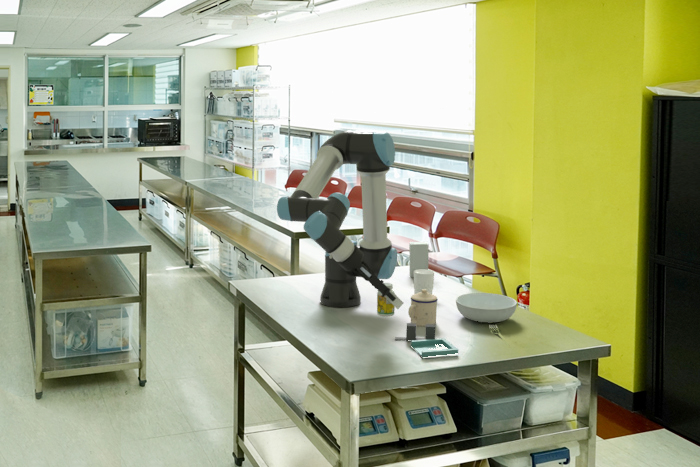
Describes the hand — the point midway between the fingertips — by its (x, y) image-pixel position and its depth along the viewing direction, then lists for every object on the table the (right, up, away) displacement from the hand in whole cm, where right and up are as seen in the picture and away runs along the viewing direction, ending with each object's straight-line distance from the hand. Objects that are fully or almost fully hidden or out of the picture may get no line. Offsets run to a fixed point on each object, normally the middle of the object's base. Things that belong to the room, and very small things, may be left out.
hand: (397, 303), depth 221 cm
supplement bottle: (-4, -4, 0) cm, 5 cm away
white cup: (+14, -3, +57) cm, 59 cm away
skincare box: (+15, +3, +92) cm, 93 cm away
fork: (+34, -13, +7) cm, 37 cm away
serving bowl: (+33, -9, +28) cm, 44 cm away
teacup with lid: (+9, -9, +22) cm, 25 cm away
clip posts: (+8, -12, +4) cm, 15 cm away
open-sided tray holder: (+11, -14, -6) cm, 19 cm away
